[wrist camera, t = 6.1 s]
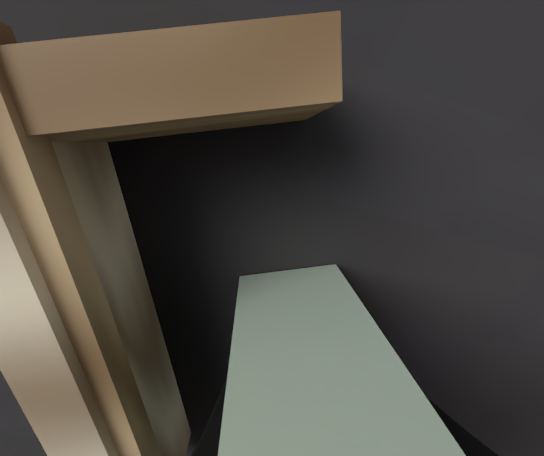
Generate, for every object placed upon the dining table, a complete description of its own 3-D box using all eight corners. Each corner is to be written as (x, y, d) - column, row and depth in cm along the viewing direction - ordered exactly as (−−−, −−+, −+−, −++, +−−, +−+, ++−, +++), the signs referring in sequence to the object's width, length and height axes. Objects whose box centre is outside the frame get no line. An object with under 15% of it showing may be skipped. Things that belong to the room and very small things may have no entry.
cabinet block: (349, 390, 13) (451, 652, 6) (260, 402, 13) (264, 682, 6) (347, 262, 11) (499, 453, 4) (239, 276, 11) (213, 496, 4)
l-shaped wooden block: (323, 413, 13) (356, 541, 9) (161, 436, 13) (115, 578, 9) (301, 53, 8) (349, -43, 4) (39, 80, 8) (-199, 8, 4)
